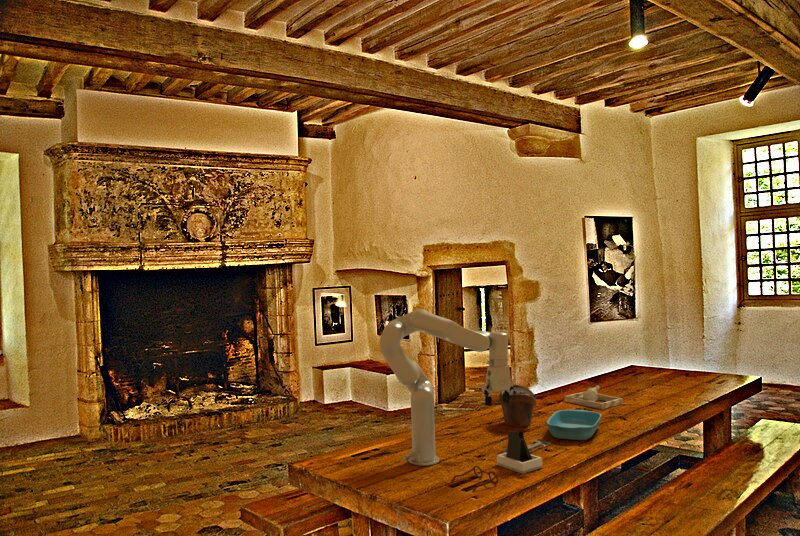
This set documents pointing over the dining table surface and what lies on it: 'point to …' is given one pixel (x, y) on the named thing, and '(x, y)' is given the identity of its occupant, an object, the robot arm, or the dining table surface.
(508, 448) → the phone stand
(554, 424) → the casserole dish
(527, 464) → the cream rectangular tray
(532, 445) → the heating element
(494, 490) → the dining table surface
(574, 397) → the cheese board rim
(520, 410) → the brown bucket
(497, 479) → the glasses
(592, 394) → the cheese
